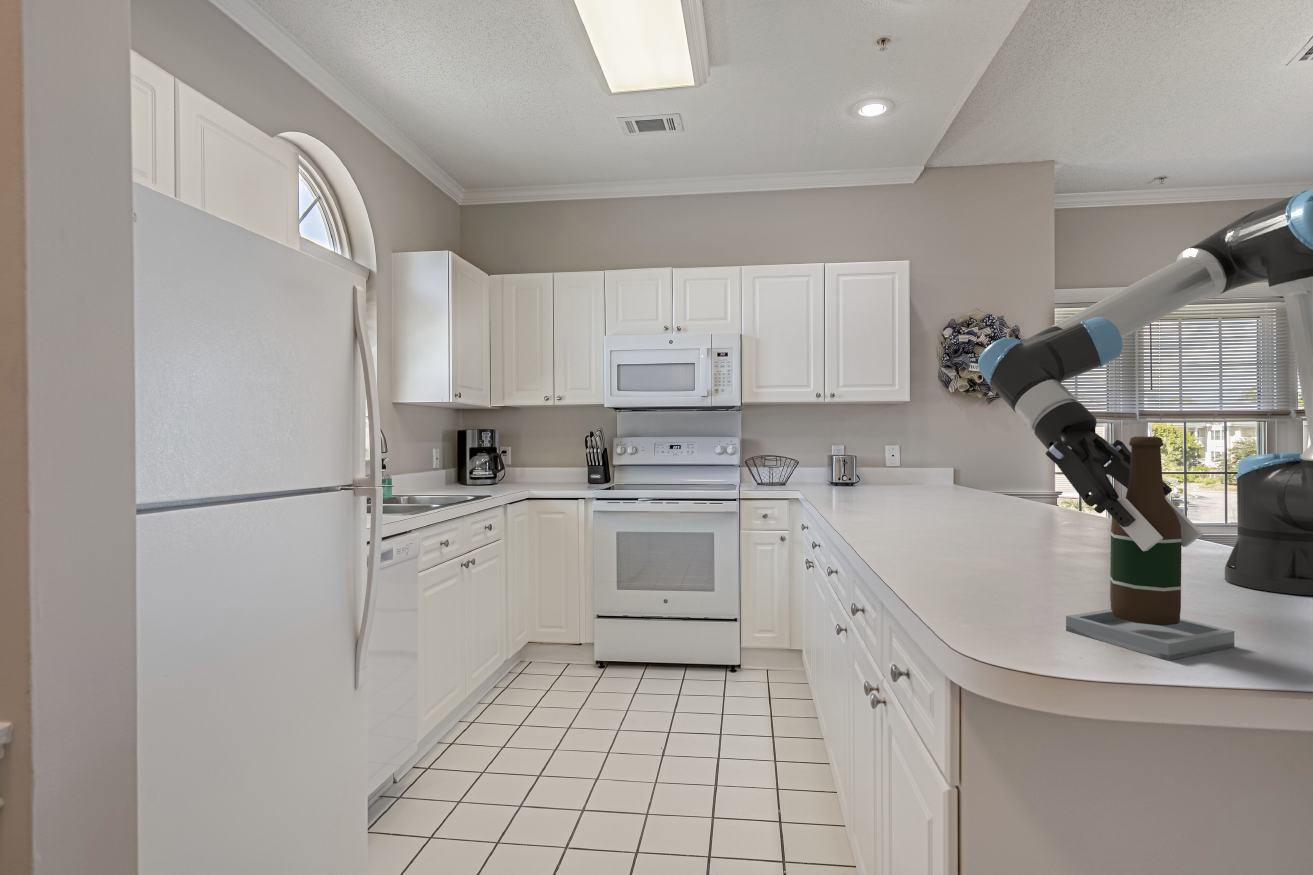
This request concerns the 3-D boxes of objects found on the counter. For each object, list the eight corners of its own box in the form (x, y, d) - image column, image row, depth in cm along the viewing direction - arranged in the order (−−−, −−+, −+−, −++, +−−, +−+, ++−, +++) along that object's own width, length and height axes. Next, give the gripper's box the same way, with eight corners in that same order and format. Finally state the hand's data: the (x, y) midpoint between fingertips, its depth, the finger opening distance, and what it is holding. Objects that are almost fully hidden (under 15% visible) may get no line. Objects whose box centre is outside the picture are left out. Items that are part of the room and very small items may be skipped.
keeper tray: (1128, 619, 96) (1128, 606, 96) (1234, 646, 84) (1234, 631, 84) (1066, 630, 92) (1066, 615, 92) (1168, 660, 80) (1168, 643, 80)
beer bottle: (1156, 610, 92) (1158, 436, 91) (1196, 627, 84) (1198, 437, 84) (1096, 609, 92) (1098, 436, 92) (1130, 625, 85) (1132, 436, 84)
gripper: (1085, 434, 106) (1199, 554, 91) (991, 435, 98) (1098, 565, 83) (1119, 400, 101) (1246, 520, 86) (1022, 398, 93) (1143, 529, 78)
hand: (1173, 542), depth 85 cm, fingers closed on beer bottle, 7 cm apart
